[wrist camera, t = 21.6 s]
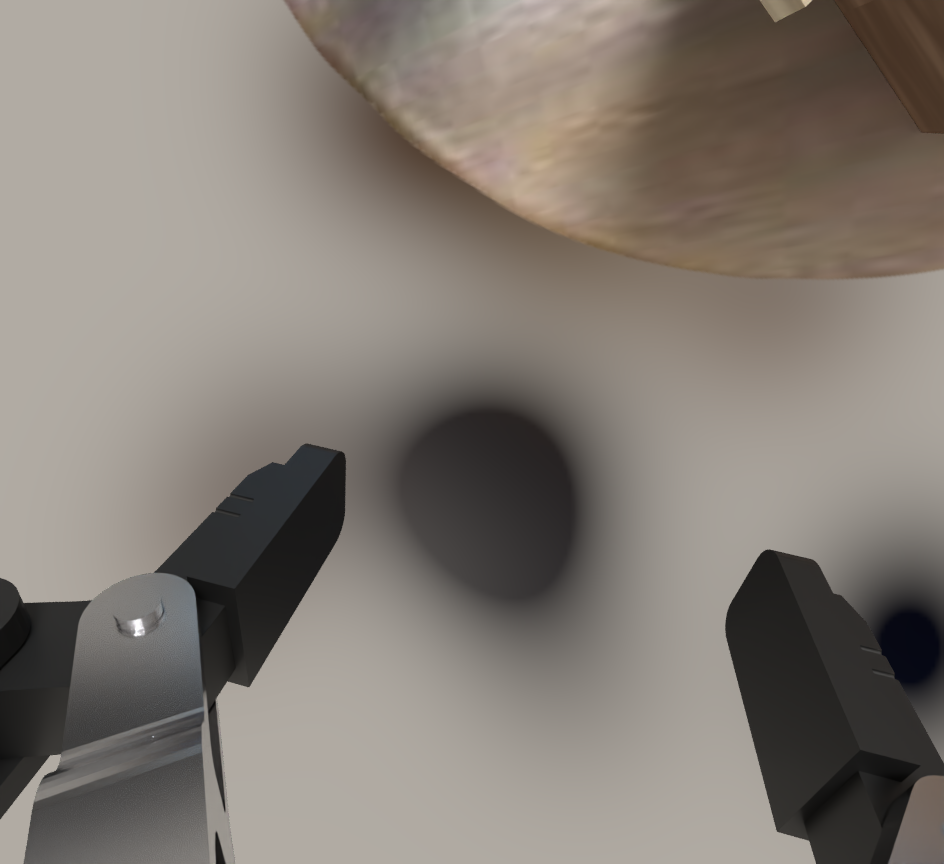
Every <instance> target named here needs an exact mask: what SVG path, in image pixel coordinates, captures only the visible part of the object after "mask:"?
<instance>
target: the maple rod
mask: <svg viewBox="0 0 944 864" xmlns="http://www.w3.org/2000/svg"><path fill="white" fill-rule="evenodd" d="M811 1H812V0H760V2H761V3H762V4H763V6H764V7H765V9H766V10H767V12H768V13H769V15H770V16H771V17H772V19H773V20H774V22H777V21H779V20H781V19H783V18H785V17H787V16H789V15H791V14H793V13H794V12H796V11H798V10H800V9H802V8H804V7H806V6H807V5H808V4H809V3H810V2H811Z"/></svg>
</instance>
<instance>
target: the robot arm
mask: <svg viewBox="0 0 944 864" xmlns="http://www.w3.org/2000/svg"><path fill="white" fill-rule="evenodd" d="M345 476H346V459H345V454H344V453H343V452H341V451H337V450H333V449H328V448H324V447H319V446H315V445H311V444H304V445H302V446H301V447H300V448H299V449H298V450H297V452H296V453H295V454H294V455H293V456H292V457H291V458H290V459H289V461H288V462H287V463H286V464H285V465H282V464H277V463H273V462H272V463H271V464H269V465H267V466H265V467H263V468H261V469H259V470H257V471H255V472H253V473H251V474H249V475H248V476H247V477H246V478H245V479H244V480H243V481H242V482H241V483H240V484H239V485H238V486H237V487H236V488H235V489H234V490H233V491H232V492H231V495H230V497H227V498H226V499H225V500H224V501H223V502H222V503H221V504H220V505H219V506H218V507H217V508H216V511H215V513H214V512H212V513H211V514H210V515H209V516H208V517H207V519H205V520H204V521H203V523H202V524H201V525H200V526H199V527H198V528H197V529H196V530H195V531H194V532H193V533H192V534H191V535H190V536H189V537H188V538H187V539H186V540H185V541H184V542H183V543H182V544H181V545H180V546H179V548H178V549H177V550H176V551H175V552H174V553H173V554H172V555H171V556H170V557H169V558H168V559H167V560H166V561H165V562H164V563H163V564H162V565H161V566H160V567H159V568H158V569H157V570H156V571H155V572H154V573H149V574H142V575H138V576H134V577H130V578H128V579H125V580H122V581H120V582H118V583H116V584H114V585H112V586H111V587H109V588H108V589H106V590H104V591H103V592H102V593H100V594H99V595H98V596H97V597H95V598H94V599H93V600H91V601H77V602H45V603H44V602H43V603H23V601H22V599H21V597H20V595H19V592H18V590H17V588H16V587H15V586H14V585H13V584H12V583H11V582H9V581H7V580H4V579H1V578H0V819H1V818H2V816H3V815H4V814H5V813H6V811H7V810H8V809H9V807H10V806H11V805H12V804H13V802H14V801H15V800H16V798H17V797H18V796H19V794H20V793H21V792H22V791H23V789H24V788H25V787H26V786H27V784H28V783H29V782H30V780H31V779H32V778H33V777H34V775H35V774H36V773H37V772H38V770H39V769H40V768H41V766H42V765H43V764H44V763H45V761H46V760H47V759H48V757H49V756H50V755H58V754H61V758H60V763H59V765H58V768H57V770H56V771H54V772H52V773H49V774H47V775H45V776H44V778H43V779H42V781H41V783H40V784H39V787H38V790H37V792H36V796H35V800H34V804H33V809H32V815H31V822H30V828H29V834H28V840H27V846H26V852H25V859H24V864H235V857H234V851H233V844H232V838H231V831H230V822H229V813H228V803H227V792H226V782H225V772H224V761H223V751H222V741H221V731H220V720H219V710H218V703H217V696H218V695H219V693H220V692H221V690H222V688H223V687H224V685H225V684H226V682H227V681H228V682H232V683H235V684H239V685H243V686H246V687H250V685H251V683H252V682H253V680H254V678H255V677H256V675H257V673H258V672H259V670H260V668H261V667H262V665H263V663H264V662H265V660H266V658H267V657H268V655H269V653H270V651H271V650H272V648H273V647H274V645H275V643H276V642H277V640H278V638H279V636H280V635H281V633H282V632H283V630H284V628H285V627H286V625H287V623H288V622H289V620H290V618H291V617H292V615H293V613H294V612H295V610H296V608H297V607H298V605H299V603H300V602H301V600H302V598H303V597H304V595H305V593H306V592H307V590H308V588H309V587H310V585H311V583H312V582H313V580H314V578H315V577H316V575H317V573H318V572H319V570H320V568H321V566H322V565H323V563H324V562H325V560H326V558H327V557H328V555H329V553H330V552H331V550H332V548H333V547H334V545H335V543H336V541H337V539H338V537H339V535H340V532H341V529H342V526H343V521H344V516H345V480H346V477H345ZM725 627H726V628H725V630H726V638H727V642H728V646H729V650H730V654H731V657H732V661H733V665H734V669H735V673H736V677H737V681H738V684H739V688H740V692H741V696H742V700H743V704H744V707H745V711H746V715H747V719H748V723H749V726H750V730H751V734H752V738H753V742H754V746H755V749H756V753H757V757H758V761H759V765H760V769H761V772H762V776H763V780H764V784H765V788H766V791H767V795H768V799H769V803H770V807H771V810H772V814H773V818H774V822H775V826H776V830H777V832H781V833H784V834H787V835H791V836H794V837H798V838H802V839H805V840H809V841H810V845H811V848H812V851H813V855H814V857H815V861H816V864H944V763H943V761H942V759H941V757H940V756H939V754H938V752H937V750H936V748H935V747H934V745H933V743H932V741H931V739H930V737H929V736H928V734H927V732H926V730H925V728H924V726H923V725H922V723H921V721H920V719H919V718H918V716H917V714H916V712H915V710H914V708H913V706H912V705H911V703H910V701H909V699H908V697H907V695H906V694H905V692H904V690H903V689H902V686H901V684H900V683H899V681H898V680H895V679H894V675H895V673H894V672H893V670H892V668H891V666H890V664H889V663H888V661H887V659H886V657H885V656H882V655H881V651H882V650H881V648H880V646H879V644H878V643H877V641H876V639H875V637H874V635H873V633H872V632H871V630H870V628H869V626H868V625H867V622H866V621H865V620H864V619H863V618H862V617H861V616H860V615H859V614H858V613H857V612H856V611H855V610H854V609H853V608H852V606H851V605H850V604H849V603H848V602H847V601H846V600H845V599H844V598H843V597H842V596H841V595H837V594H833V592H832V590H831V588H830V586H829V584H828V582H827V580H826V578H825V577H824V575H823V573H822V571H821V569H820V567H819V565H818V564H817V563H816V562H815V561H814V560H812V559H808V558H804V557H799V556H795V555H790V554H786V553H782V552H778V551H774V550H765V551H764V552H762V553H761V554H760V556H759V557H758V558H757V560H756V562H755V564H754V565H753V567H752V569H751V570H750V572H749V574H748V575H747V577H746V579H745V580H744V582H743V584H742V586H741V587H740V589H739V590H738V592H737V594H736V595H735V597H734V599H733V600H732V602H731V604H730V606H729V609H728V612H727V617H726V625H725Z"/></svg>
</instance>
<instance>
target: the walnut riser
mask: <svg viewBox="0 0 944 864" xmlns="http://www.w3.org/2000/svg"><path fill="white" fill-rule="evenodd" d="M834 1H835V2H836V4H837V5H838V7H839V8H840V10H841V11H842V13H843V14H844V16H845V17H846V19H847V20H848V22H849V23H850V25H851V26H852V28H853V29H854V31H855V32H856V34H857V36H858V37H859V39H860V40H861V42H862V43H863V45H864V46H865V48H866V49H867V51H868V52H869V54H870V55H871V57H872V58H873V60H874V61H875V63H876V64H877V66H878V67H879V69H880V70H881V72H882V73H883V75H884V76H885V78H886V79H887V81H888V82H889V84H890V85H891V87H892V89H893V90H894V92H895V93H896V95H897V96H898V98H899V99H900V101H901V102H902V104H903V105H904V107H905V108H906V110H907V111H908V113H909V114H910V116H911V117H912V119H913V120H914V122H915V123H916V125H917V126H918V128H919V129H920V131H921V132H922V133H944V0H834Z"/></svg>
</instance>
